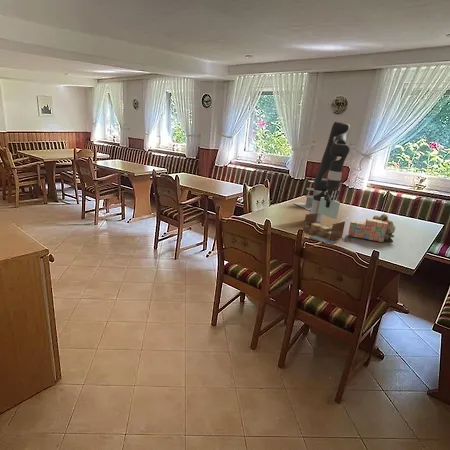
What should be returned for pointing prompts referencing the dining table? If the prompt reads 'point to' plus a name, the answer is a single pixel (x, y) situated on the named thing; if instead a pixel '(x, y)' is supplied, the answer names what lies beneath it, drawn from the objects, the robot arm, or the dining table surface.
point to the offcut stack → (321, 227)
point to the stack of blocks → (368, 229)
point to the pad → (322, 239)
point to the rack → (335, 230)
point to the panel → (332, 209)
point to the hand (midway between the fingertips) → (328, 207)
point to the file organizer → (309, 199)
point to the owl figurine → (390, 227)
